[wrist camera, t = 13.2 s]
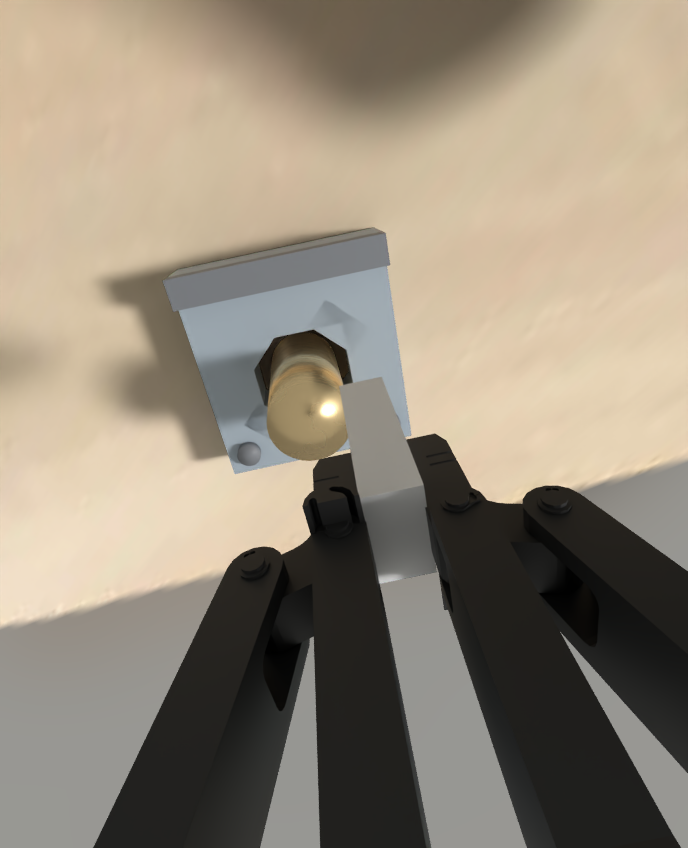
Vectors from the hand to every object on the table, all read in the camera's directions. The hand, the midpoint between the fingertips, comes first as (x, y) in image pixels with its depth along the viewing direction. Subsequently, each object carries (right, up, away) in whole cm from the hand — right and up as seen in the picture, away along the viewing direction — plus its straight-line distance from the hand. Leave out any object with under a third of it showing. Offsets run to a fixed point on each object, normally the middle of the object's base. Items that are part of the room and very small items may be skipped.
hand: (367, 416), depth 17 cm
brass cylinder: (-4, +4, +18) cm, 19 cm away
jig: (-4, +5, +17) cm, 19 cm away
